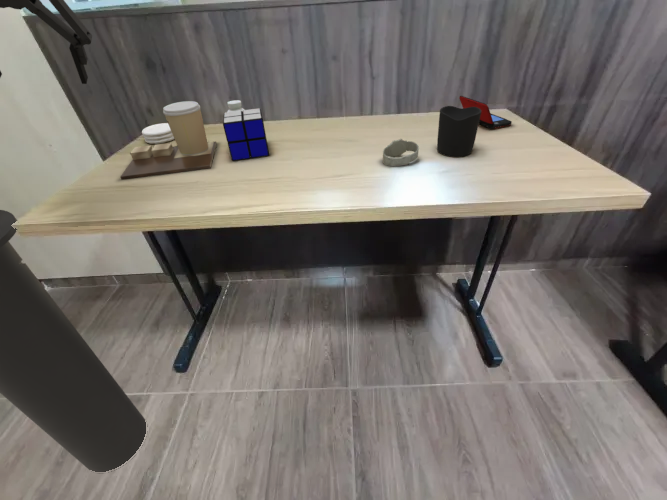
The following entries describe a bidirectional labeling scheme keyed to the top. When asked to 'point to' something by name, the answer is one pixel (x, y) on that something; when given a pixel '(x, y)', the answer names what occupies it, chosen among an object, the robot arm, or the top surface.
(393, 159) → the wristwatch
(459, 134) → the pen holder
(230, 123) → the puzzle cube
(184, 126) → the coffee cup
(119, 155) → the top surface
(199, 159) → the letter board
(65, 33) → the robot arm
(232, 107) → the pill bottle
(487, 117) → the handheld console
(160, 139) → the coaster
